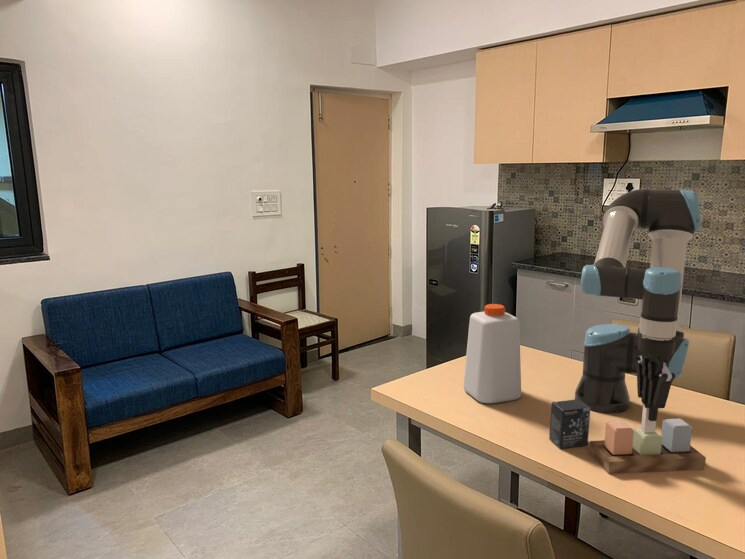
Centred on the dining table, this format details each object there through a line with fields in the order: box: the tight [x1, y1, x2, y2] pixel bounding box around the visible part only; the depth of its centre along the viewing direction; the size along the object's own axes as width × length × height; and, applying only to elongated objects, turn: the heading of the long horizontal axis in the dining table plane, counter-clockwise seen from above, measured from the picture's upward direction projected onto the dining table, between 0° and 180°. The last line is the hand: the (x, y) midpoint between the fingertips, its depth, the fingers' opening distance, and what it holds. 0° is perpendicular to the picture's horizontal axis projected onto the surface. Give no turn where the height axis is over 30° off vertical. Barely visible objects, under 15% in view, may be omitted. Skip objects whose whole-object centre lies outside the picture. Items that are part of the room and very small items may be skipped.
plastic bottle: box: [462, 303, 522, 405], centre depth 175 cm, size 15×15×28 cm
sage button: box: [632, 428, 662, 455], centre depth 137 cm, size 4×4×6 cm
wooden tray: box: [589, 439, 707, 475], centre depth 137 cm, size 23×10×3 cm, turn 94°
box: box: [548, 398, 591, 450], centre depth 145 cm, size 8×6×11 cm
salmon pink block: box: [604, 420, 634, 455], centre depth 136 cm, size 4×4×6 cm
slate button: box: [660, 418, 693, 452], centre depth 137 cm, size 4×4×6 cm
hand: (648, 431), depth 136 cm, fingers closed
